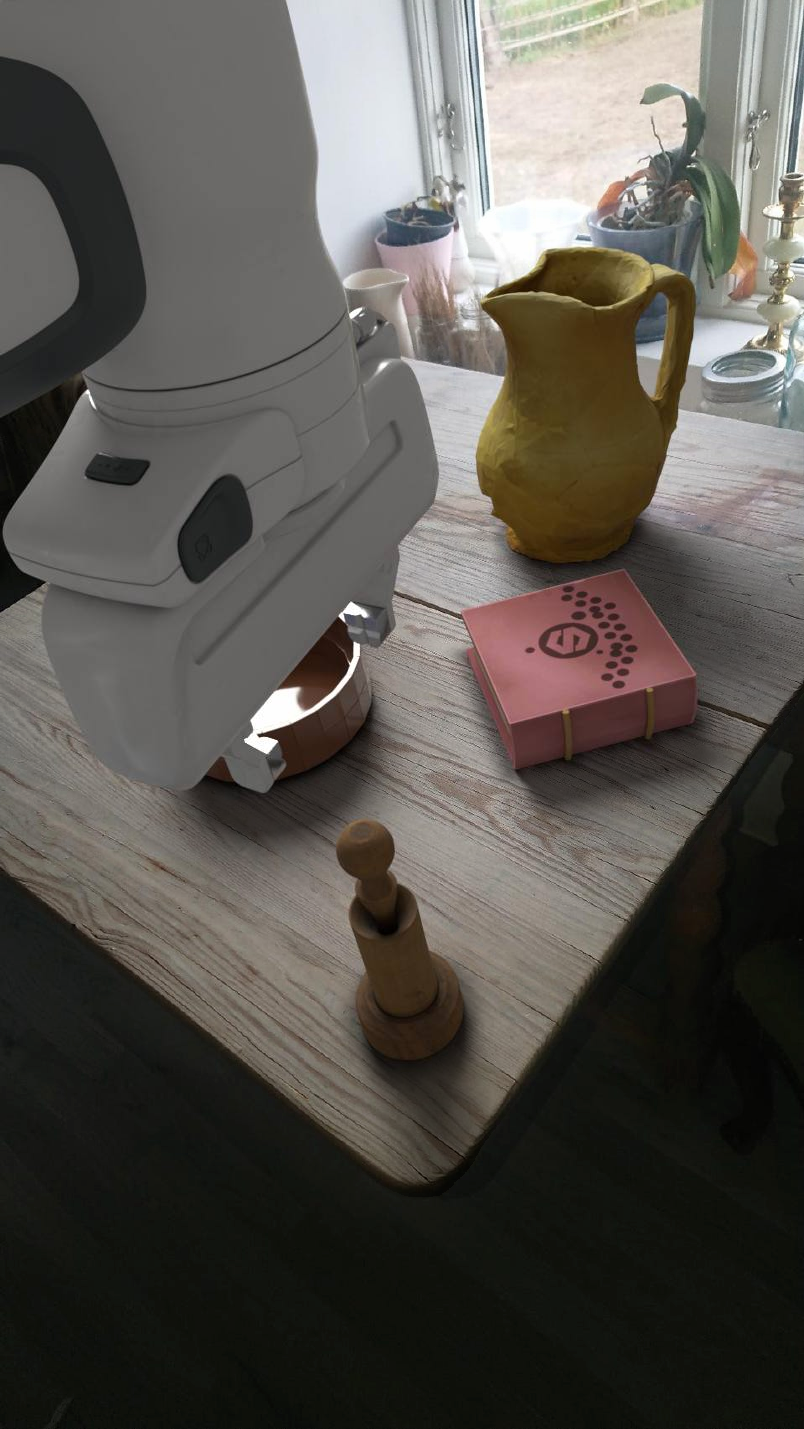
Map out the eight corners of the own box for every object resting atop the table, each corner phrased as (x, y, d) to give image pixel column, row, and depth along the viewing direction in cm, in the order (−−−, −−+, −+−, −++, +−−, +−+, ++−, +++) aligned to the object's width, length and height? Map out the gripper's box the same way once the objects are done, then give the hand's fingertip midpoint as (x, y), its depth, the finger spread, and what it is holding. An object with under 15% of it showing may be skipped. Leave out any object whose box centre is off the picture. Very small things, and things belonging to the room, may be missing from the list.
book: (517, 778, 74) (512, 732, 71) (466, 655, 85) (460, 610, 82) (697, 730, 75) (701, 682, 71) (624, 614, 86) (624, 568, 82)
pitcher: (498, 475, 105) (488, 233, 87) (677, 485, 100) (706, 231, 82) (462, 575, 94) (442, 321, 76) (662, 592, 89) (691, 325, 71)
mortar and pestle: (390, 952, 65) (337, 770, 52) (480, 984, 62) (446, 800, 50) (343, 1040, 61) (273, 864, 48) (436, 1077, 58) (388, 902, 46)
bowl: (303, 814, 75) (285, 760, 71) (135, 757, 82) (110, 706, 78) (408, 671, 85) (397, 617, 81) (249, 632, 92) (232, 581, 88)
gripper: (318, 284, 41) (375, 556, 50) (-42, 563, 29) (121, 851, 38) (453, 290, 38) (486, 577, 48) (117, 602, 26) (250, 902, 36)
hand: (321, 702), depth 43 cm, fingers open, 8 cm apart
